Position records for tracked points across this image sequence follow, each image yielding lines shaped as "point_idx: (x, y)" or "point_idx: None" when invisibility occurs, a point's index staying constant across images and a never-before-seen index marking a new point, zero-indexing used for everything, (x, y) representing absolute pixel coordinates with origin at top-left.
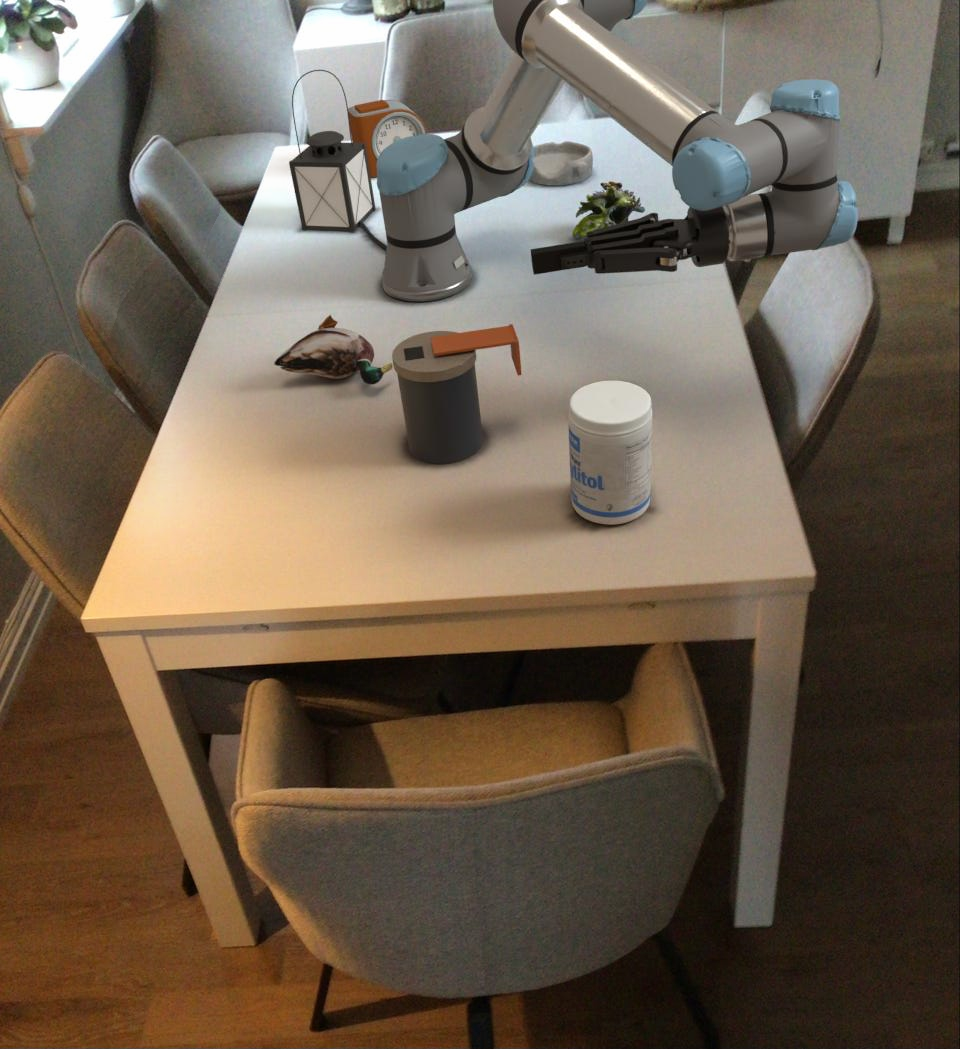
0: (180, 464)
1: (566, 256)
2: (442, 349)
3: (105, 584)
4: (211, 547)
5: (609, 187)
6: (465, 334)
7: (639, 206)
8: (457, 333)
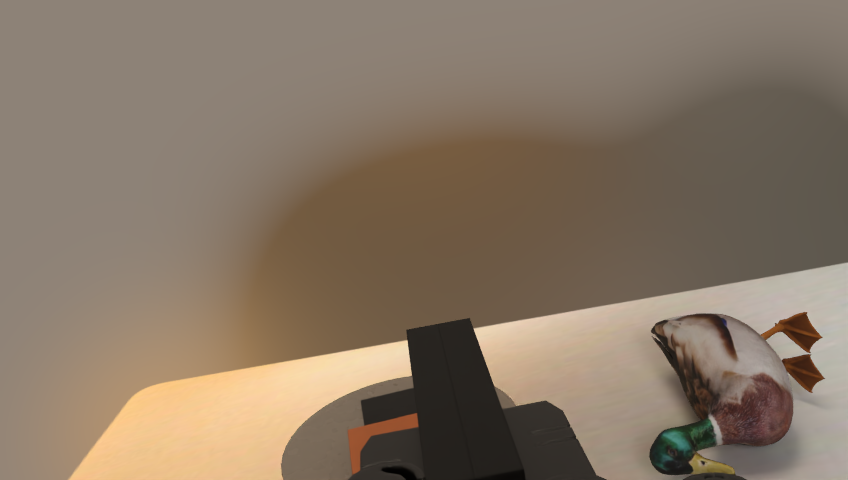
0: None
1: (383, 455)
2: (364, 439)
3: (190, 378)
4: (217, 432)
5: None
6: None
7: None
8: None
